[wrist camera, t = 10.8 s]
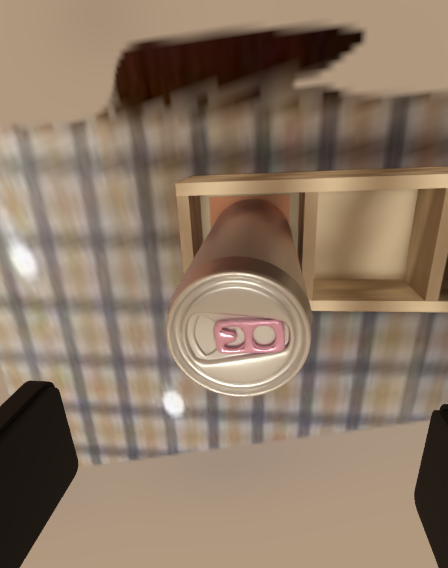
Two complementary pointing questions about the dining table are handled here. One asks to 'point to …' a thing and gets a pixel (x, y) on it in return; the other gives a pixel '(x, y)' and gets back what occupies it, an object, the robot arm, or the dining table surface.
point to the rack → (343, 231)
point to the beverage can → (242, 305)
